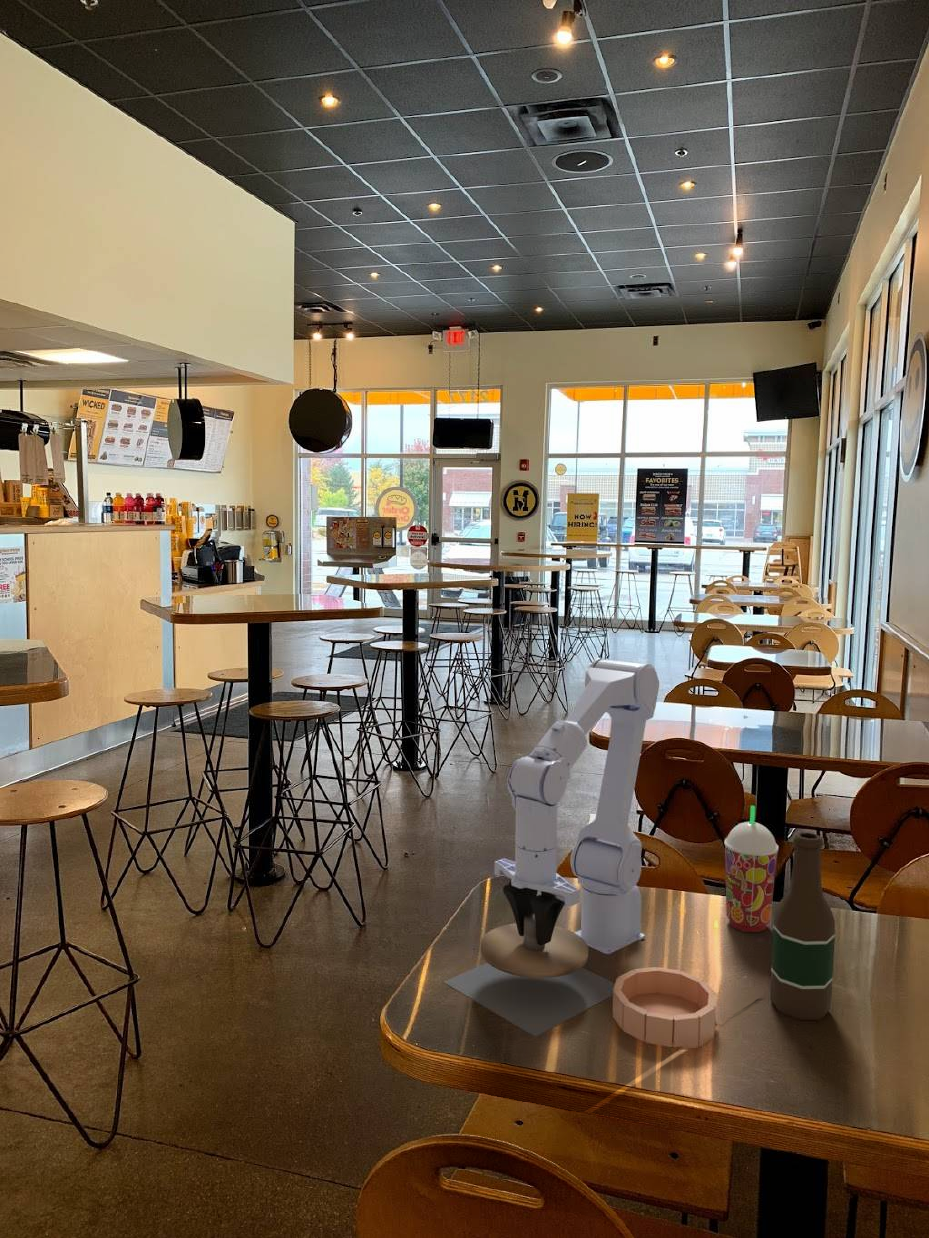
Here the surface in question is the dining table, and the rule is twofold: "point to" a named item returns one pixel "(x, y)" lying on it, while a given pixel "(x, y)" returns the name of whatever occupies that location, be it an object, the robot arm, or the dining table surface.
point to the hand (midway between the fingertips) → (534, 938)
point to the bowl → (665, 1007)
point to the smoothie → (750, 875)
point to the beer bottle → (803, 938)
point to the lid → (533, 951)
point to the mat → (533, 995)
